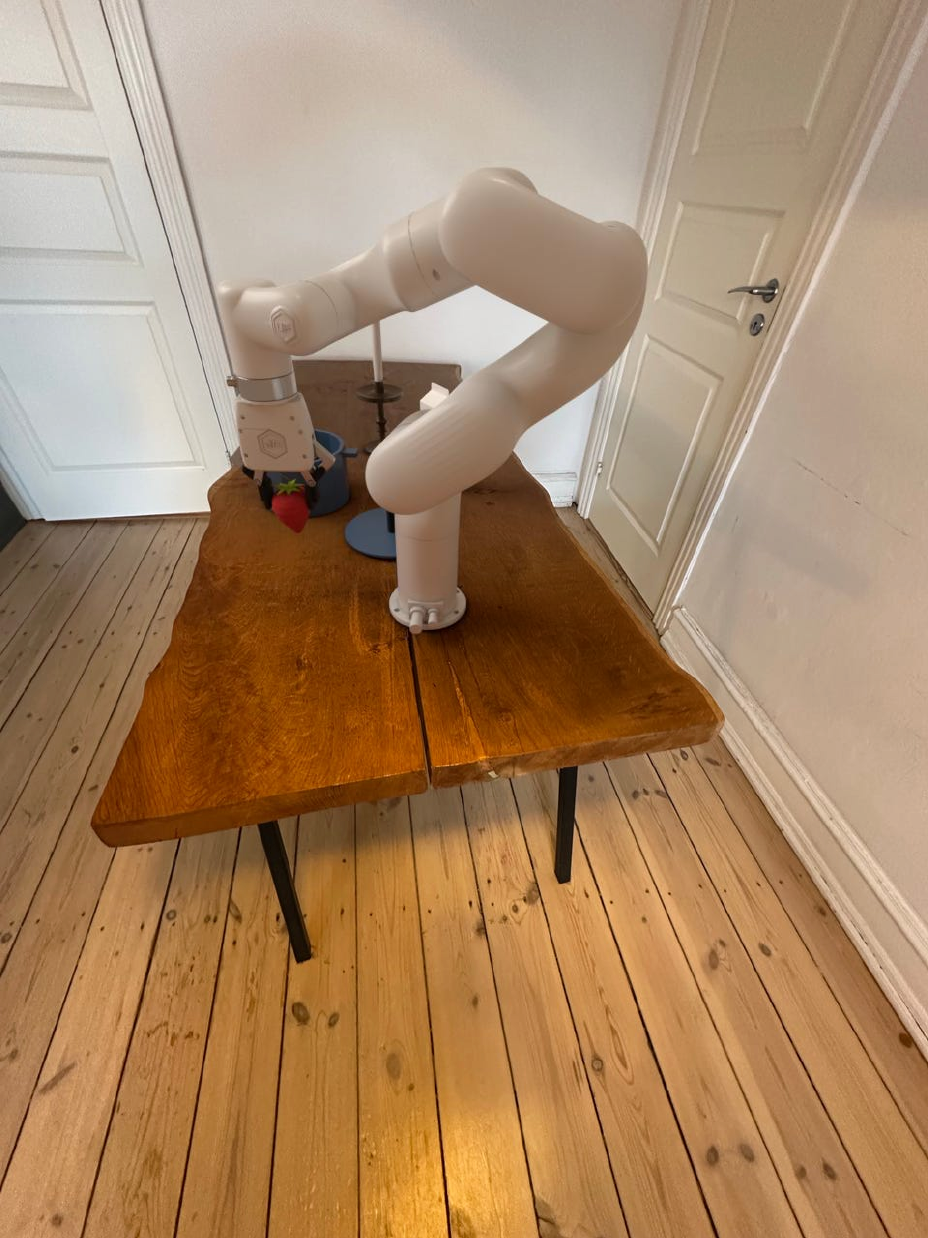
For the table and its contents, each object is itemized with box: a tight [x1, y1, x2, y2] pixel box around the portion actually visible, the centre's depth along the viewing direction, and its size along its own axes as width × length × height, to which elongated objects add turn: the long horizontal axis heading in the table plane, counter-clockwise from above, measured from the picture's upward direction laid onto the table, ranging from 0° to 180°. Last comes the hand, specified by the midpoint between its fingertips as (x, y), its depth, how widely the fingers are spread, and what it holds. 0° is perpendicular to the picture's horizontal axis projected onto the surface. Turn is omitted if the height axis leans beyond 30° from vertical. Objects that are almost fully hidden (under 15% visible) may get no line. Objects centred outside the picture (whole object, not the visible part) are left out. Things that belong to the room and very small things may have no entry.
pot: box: [267, 428, 359, 518], centre depth 114 cm, size 18×23×12 cm
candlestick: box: [355, 320, 404, 456], centre depth 127 cm, size 11×11×35 cm
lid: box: [344, 507, 397, 559], centre depth 105 cm, size 19×19×7 cm
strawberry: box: [270, 474, 311, 534], centre depth 85 cm, size 6×8×10 cm
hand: (292, 504), depth 85 cm, fingers closed on strawberry, 5 cm apart
